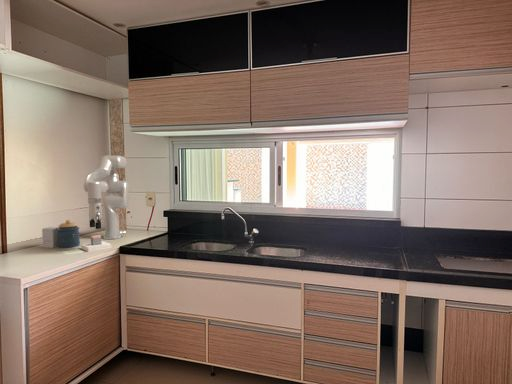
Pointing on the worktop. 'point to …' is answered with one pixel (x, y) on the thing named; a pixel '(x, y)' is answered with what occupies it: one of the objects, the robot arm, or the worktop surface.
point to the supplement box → (50, 237)
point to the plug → (96, 240)
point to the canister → (68, 235)
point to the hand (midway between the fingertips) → (95, 228)
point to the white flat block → (95, 246)
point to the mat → (72, 252)
